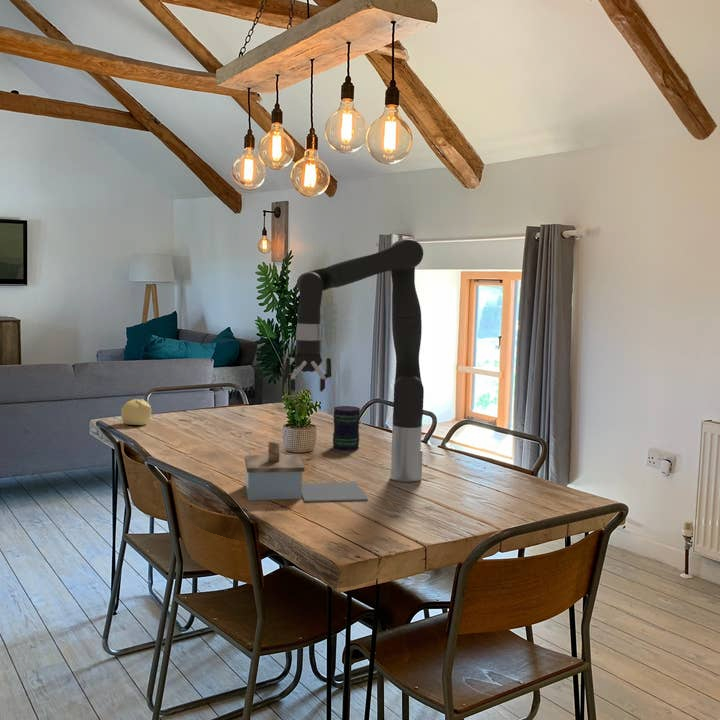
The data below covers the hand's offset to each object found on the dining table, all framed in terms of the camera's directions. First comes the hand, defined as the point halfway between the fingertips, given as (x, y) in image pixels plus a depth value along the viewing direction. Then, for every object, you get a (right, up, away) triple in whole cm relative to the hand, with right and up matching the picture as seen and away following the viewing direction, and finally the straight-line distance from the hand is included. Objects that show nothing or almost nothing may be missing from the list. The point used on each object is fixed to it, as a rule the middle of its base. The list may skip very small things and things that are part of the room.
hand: (307, 391), depth 235 cm
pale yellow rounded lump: (-76, -17, +82) cm, 113 cm away
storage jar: (+11, -23, +51) cm, 57 cm away
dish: (-9, -29, -11) cm, 32 cm away
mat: (+8, -29, -9) cm, 32 cm away
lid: (-9, -21, -12) cm, 26 cm away
